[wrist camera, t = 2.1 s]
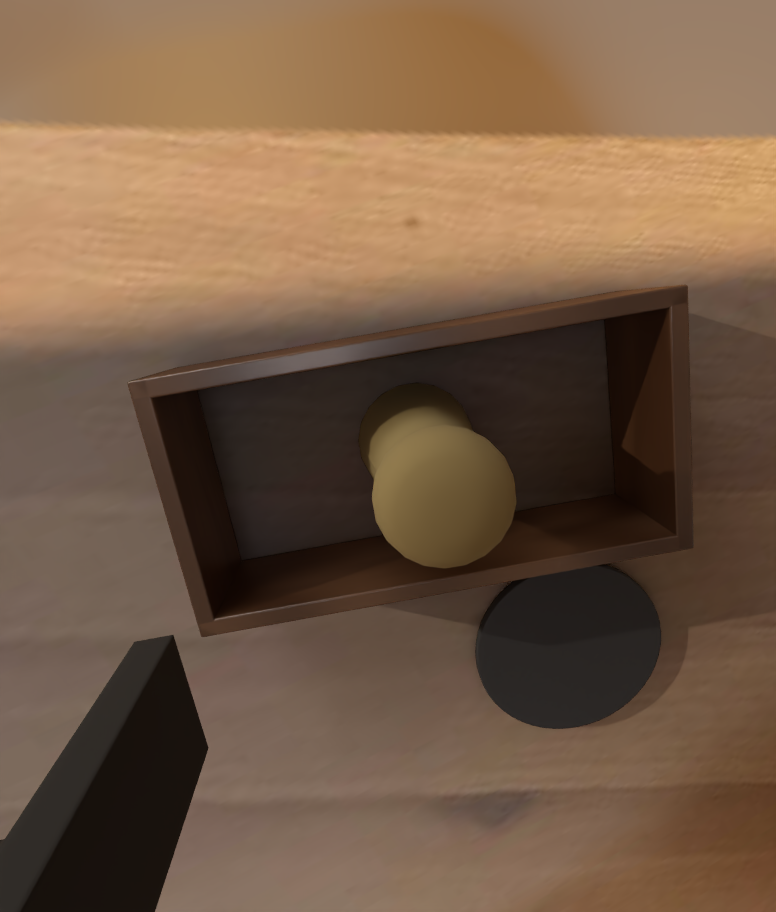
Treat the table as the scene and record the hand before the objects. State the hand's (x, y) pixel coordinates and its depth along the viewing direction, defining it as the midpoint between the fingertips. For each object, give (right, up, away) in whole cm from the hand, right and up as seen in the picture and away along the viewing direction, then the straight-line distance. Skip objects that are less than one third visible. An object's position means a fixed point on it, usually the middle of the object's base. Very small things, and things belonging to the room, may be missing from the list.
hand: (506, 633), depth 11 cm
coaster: (+8, -8, +21) cm, 24 cm away
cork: (-1, +4, +18) cm, 19 cm away
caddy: (-1, +4, +18) cm, 18 cm away
